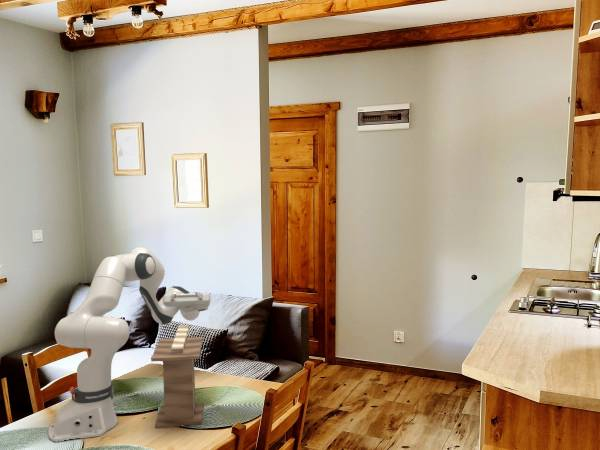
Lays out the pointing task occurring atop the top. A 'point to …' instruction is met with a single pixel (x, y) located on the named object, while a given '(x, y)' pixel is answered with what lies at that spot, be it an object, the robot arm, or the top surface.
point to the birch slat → (180, 339)
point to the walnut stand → (179, 384)
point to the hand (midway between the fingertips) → (185, 294)
